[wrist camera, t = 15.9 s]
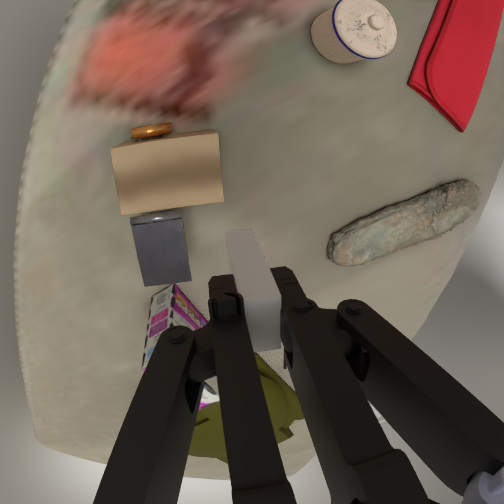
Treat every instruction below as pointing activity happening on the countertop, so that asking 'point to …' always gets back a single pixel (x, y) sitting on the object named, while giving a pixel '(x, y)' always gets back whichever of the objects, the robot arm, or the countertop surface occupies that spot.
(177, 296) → the candy bar box
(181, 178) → the oak block
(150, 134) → the lynch pin
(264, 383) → the spaceship
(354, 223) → the long grey stone
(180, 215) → the plate
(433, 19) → the red long flat piece
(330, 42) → the teacup with lid
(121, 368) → the countertop surface
